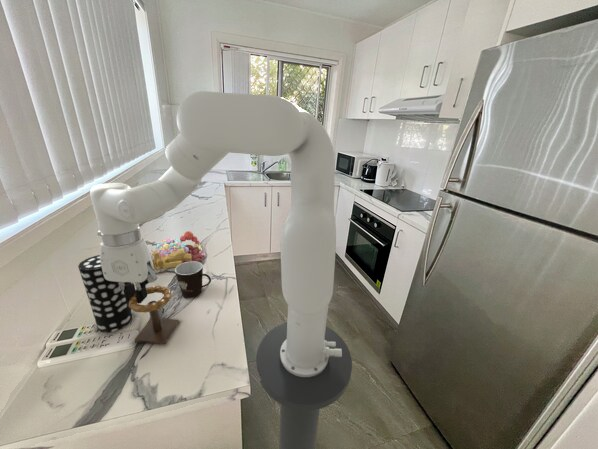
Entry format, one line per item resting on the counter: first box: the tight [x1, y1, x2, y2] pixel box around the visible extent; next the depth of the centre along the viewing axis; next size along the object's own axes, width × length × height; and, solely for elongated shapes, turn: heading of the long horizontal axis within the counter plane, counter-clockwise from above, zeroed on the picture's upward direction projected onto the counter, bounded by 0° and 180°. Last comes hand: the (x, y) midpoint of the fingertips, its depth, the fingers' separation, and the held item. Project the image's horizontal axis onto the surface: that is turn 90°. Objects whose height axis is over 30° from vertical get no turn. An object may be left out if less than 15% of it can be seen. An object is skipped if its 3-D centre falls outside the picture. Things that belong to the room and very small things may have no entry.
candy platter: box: [150, 230, 205, 274], centre depth 104 cm, size 25×24×9 cm
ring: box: [129, 285, 173, 314], centre depth 64 cm, size 10×10×2 cm
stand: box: [133, 300, 180, 345], centre depth 66 cm, size 8×8×10 cm
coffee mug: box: [174, 261, 212, 299], centre depth 82 cm, size 12×9×10 cm
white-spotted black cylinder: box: [77, 254, 134, 333], centre depth 67 cm, size 8×8×20 cm
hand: (137, 299), depth 64 cm, fingers closed on ring, 2 cm apart
